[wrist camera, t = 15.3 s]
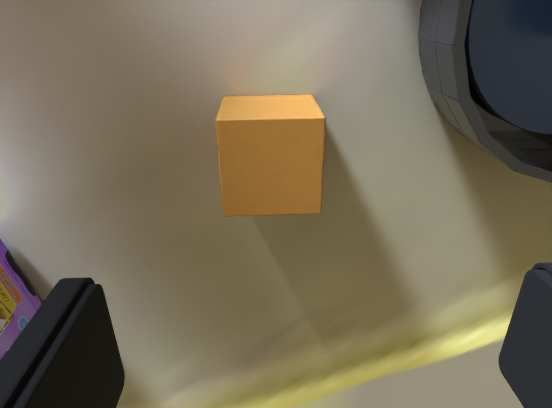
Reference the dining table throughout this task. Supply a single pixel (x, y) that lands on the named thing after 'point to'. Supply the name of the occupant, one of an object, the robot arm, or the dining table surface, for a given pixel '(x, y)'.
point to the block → (270, 155)
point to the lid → (512, 60)
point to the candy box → (14, 300)
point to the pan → (472, 93)
